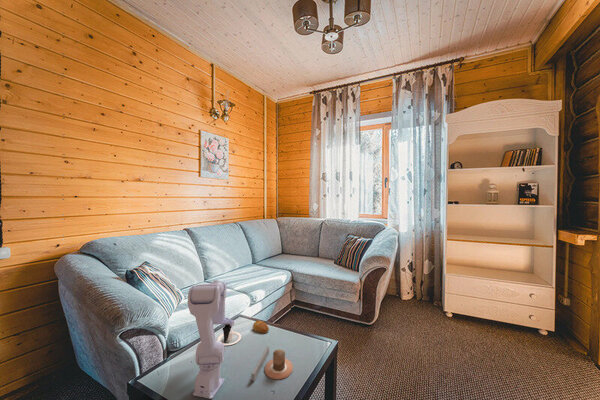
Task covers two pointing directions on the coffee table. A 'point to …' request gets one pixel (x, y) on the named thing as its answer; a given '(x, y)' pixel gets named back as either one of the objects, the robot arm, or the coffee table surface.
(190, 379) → the coffee table surface
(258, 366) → the acrylic wall
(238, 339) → the candle holder
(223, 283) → the robot arm
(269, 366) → the resting plate
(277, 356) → the walnut cylinder
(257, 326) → the pastry
